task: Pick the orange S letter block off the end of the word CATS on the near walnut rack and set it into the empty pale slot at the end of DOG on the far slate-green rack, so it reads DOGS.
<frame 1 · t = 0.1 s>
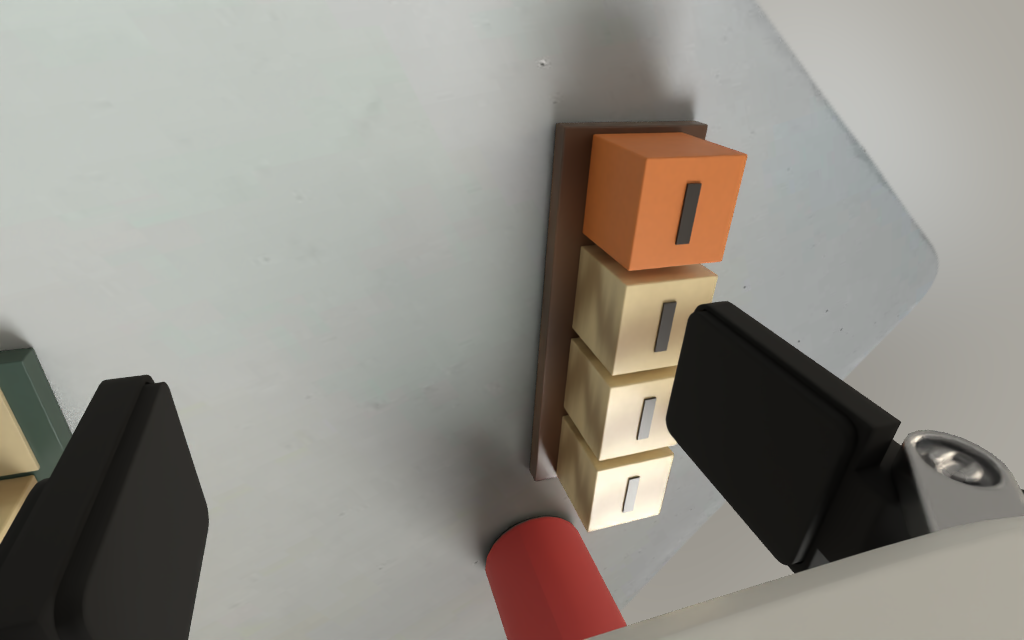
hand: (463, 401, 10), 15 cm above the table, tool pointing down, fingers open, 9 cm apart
cats rack: (601, 318, 29), on the table
dog rack: (24, 544, 25), on the table
beer can: (529, 544, 37), on the table
s tile: (631, 183, 25), point 1 cm above the table, touching cats rack
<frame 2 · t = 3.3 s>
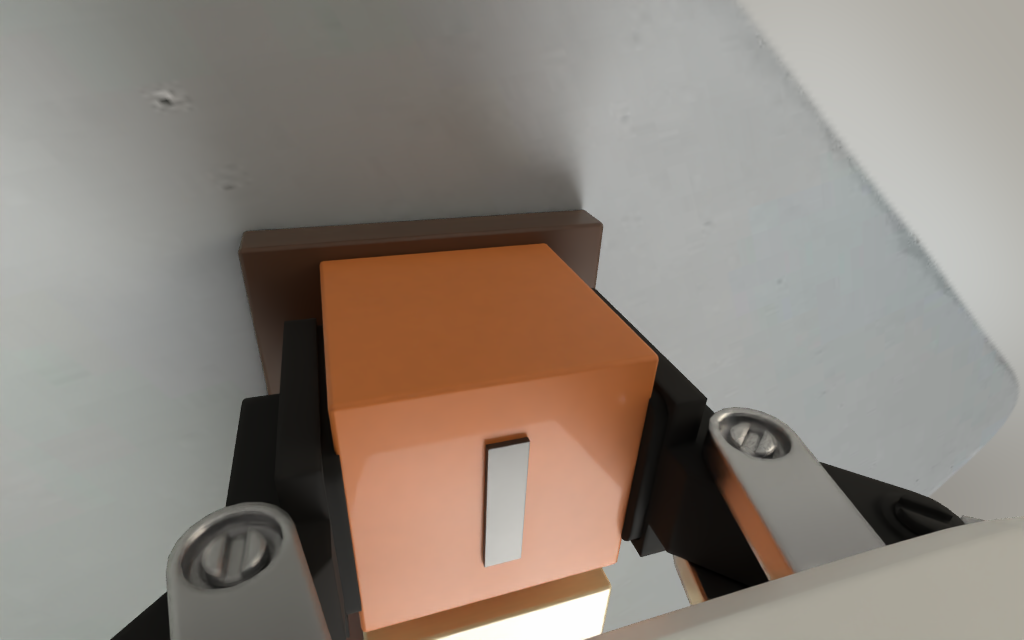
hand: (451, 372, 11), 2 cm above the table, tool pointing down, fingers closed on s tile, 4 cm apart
cats rack: (439, 547, 16), on the table
s tile: (441, 347, 12), point 1 cm above the table, touching cats rack, gripper
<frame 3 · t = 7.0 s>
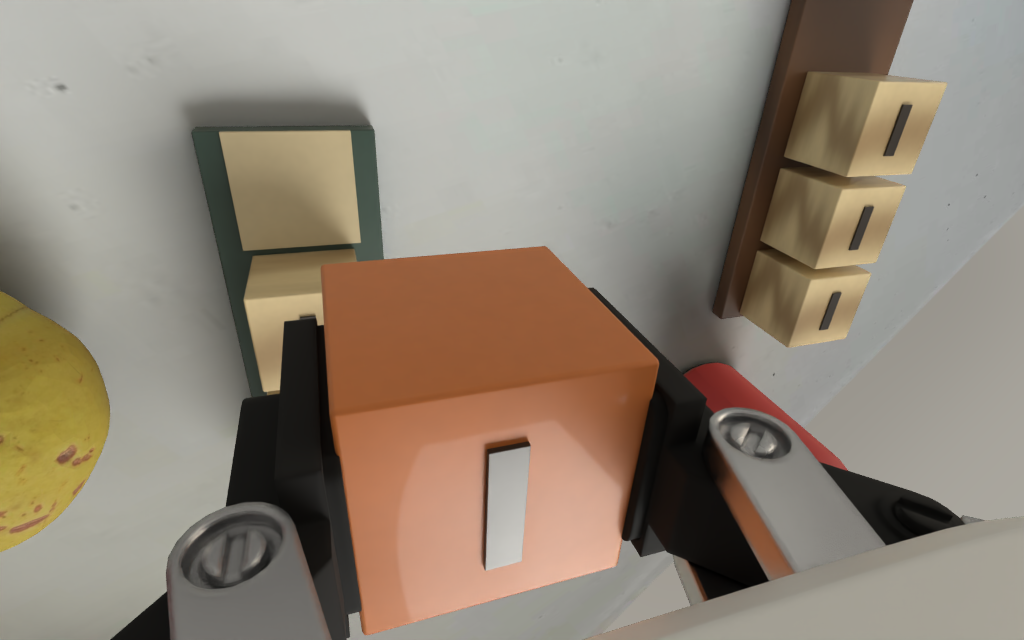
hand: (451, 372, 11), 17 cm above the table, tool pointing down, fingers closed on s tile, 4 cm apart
cats rack: (799, 157, 32), on the table
dog rack: (317, 329, 28), on the table
beer can: (694, 394, 40), on the table
s tile: (442, 349, 12), point 16 cm above the table, touching gripper
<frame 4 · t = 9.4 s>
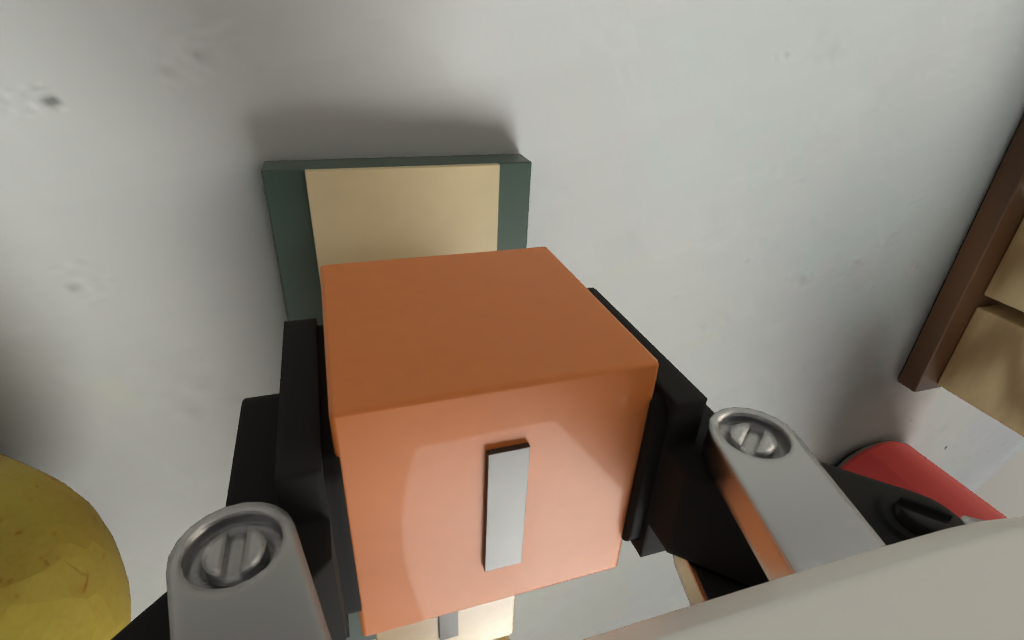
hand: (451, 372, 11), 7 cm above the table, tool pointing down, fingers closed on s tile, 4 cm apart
dog rack: (415, 435, 20), on the table
beer can: (853, 476, 32), on the table
s tile: (441, 350, 12), point 6 cm above the table, touching gripper
when the fingers open (2 cm above the table, at t = 10.9 s): s tile stays where it is, resting on dog rack.
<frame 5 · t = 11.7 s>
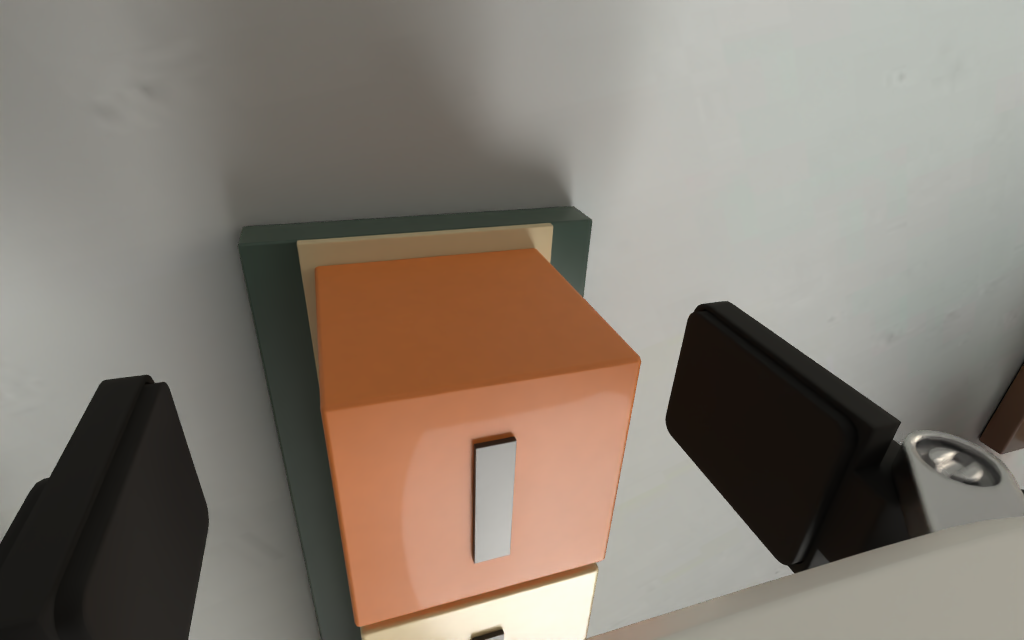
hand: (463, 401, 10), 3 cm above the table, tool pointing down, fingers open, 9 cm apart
dog rack: (435, 537, 16), on the table
s tile: (434, 349, 12), point 1 cm above the table, touching dog rack
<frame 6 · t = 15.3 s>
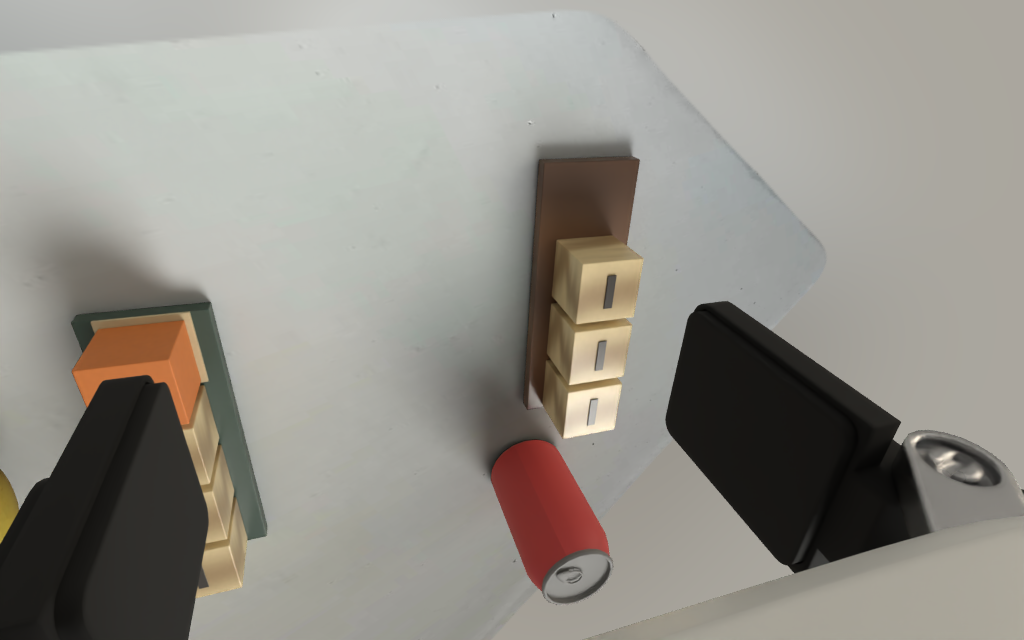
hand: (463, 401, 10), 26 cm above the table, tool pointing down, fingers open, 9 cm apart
cats rack: (572, 290, 42), on the table
dog rack: (186, 436, 38), on the table
beer can: (523, 462, 49), on the table
s tile: (152, 355, 33), point 1 cm above the table, touching dog rack
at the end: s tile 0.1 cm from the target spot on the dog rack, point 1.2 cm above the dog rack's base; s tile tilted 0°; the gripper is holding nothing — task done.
